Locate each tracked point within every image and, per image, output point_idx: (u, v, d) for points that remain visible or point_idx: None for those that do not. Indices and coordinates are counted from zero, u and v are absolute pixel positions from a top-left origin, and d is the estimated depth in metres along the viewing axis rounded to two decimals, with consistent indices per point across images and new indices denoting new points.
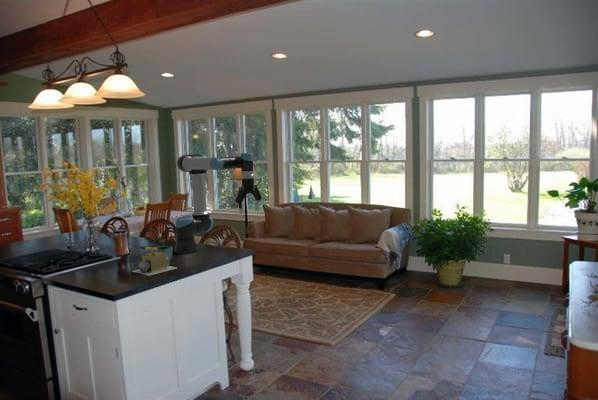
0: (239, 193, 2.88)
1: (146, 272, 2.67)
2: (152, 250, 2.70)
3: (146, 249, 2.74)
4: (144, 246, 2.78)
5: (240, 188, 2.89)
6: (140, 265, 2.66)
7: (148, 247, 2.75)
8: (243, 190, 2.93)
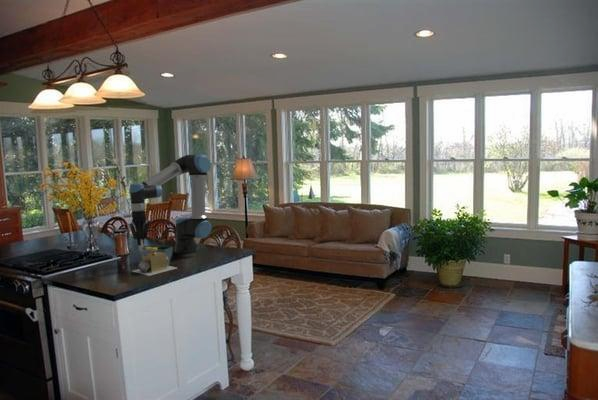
0: (132, 230, 2.71)
1: (146, 272, 2.67)
2: (152, 250, 2.70)
3: (146, 249, 2.74)
4: (144, 246, 2.78)
5: (130, 226, 2.70)
6: (140, 265, 2.66)
7: (148, 247, 2.76)
8: (135, 224, 2.74)
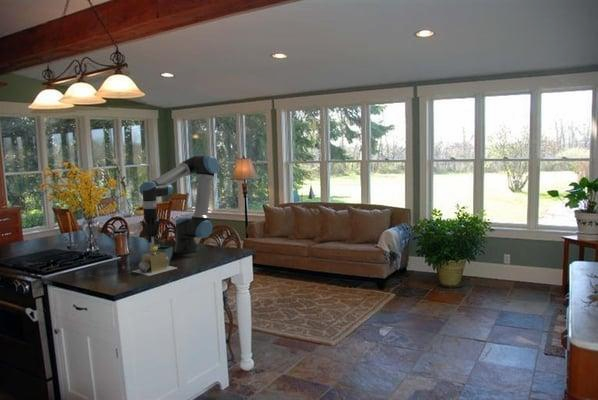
0: (143, 228, 2.76)
1: (146, 272, 2.67)
2: (150, 250, 2.70)
3: (153, 248, 2.77)
4: (157, 244, 2.81)
5: (141, 223, 2.75)
6: (140, 265, 2.66)
7: (156, 246, 2.77)
8: None
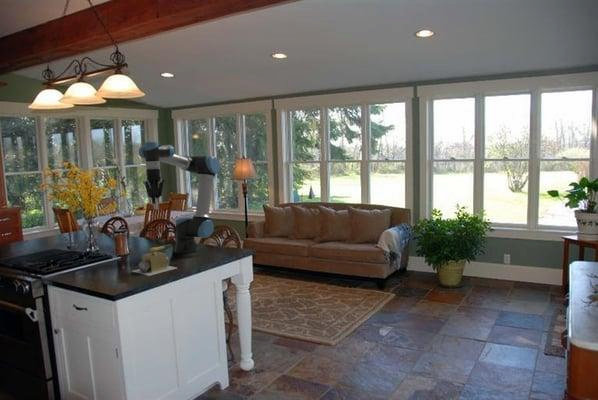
0: (147, 188, 2.72)
1: (146, 272, 2.67)
2: None
3: None
4: (168, 245, 2.79)
5: (145, 183, 2.71)
6: (140, 265, 2.66)
7: (162, 246, 2.76)
8: None
